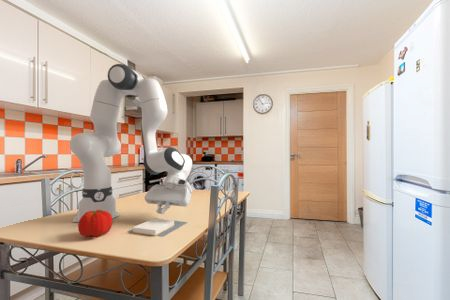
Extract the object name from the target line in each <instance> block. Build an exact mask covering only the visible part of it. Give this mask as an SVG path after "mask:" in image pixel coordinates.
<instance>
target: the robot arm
mask: <svg viewBox="0 0 450 300" xmlns="http://www.w3.org/2000/svg"><path fill="white" fill-rule="evenodd" d="M164 94H165V93H164V91H163V89H162V86H161V84H160V82H159V81H158V80H157V79H156V78H153V77H147V78H145V77H144V76H143V75H141V74H140V73H139V72H138V71H136V70H134V69H132V68H131V67H130V66H128V65H126V64H123V63H115V64H113V65H111V67H109V69H108V71H107V79H103V80H101V81H100V82H99V84H98V86H97V88H96V91H95V94H94V97H93V101H92V105H91V110H90V115H89V119H90V120H91V122H92V123H93V127H94V132H82V133H81V132H80V133H76V134H74V135H73V136H72V137H71V139H70V141H69V148H70V151H71V153H72V154H73V155H75V156H76V157H77V159H78V161H79V163H80V165H81V168H82V174H83V188H82V191H81V194H82V195H81V197H82V198H81V199H80V201H79V202H78V203H77V205H76V210H77V212H76V215H75V216H74V218H73V219H72V223H79V220H80V219H81V217H82V216H83V215H84V214H85V213H86V212H88V211H96V210H102V211H107V212H109V213H110V214H111V216H112V219H114V218H116V217H119V216H121V213H120V212H118V211H117V205H116V203H117V201H116V198H115V197H113V187H112V170H111V168H110V167H109V166H108V165H107V163H106V160H105V158H110V157H113V156H115V155H118V154H119V153H120V152H121V148H122V144H121V140H120V139H119V137H118V129H117V128H118V127H117V125H118V119H119V113H120V108H121V104H122V100H123V98H124V97H126V98H135V97H136V98H137V97H138V101H139V103H140V108H141V122H140V123H141V124H140V131H141V139H142V147H143V167H144V169H145V171H147V172H148V173H149V174H150V175H155V176H156V175H159V174H160V173H163V172H167V175H166V177H165V179H164V181H163V182H162V184H157V183H156V184H155V185H152V186H151V187H150V189H149V190H148V191H147V192H146V194H145V195H144V201H145V202H146V203H147V204H153V205H157V208H156V211H155V212H156V213H157V214H162V215H164V214H165V212H166V211H167V210H168V209H170V208H171V206H174V207H188V205H190V201H191V200H192V193H193V188H192V186H191V184H190V183H189V181H188V180H187V179H188V177H189V175H190V174H191V171H192V168H193V160H192V158H191V156H189V155H188V154H185V153H181V152H180V151H179V150H178V149H177V148H175V147H173V146H170V147H166V148H163V149H161V150H158V144H157V138H156V132H157V130H158V128H159V127H160V126H161V124H162V123H163V122H164V121H165V120H166V118H167V116H168V112H169V111H168V106H167V101H166V97H165V95H164Z"/></svg>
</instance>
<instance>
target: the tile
mask: <svg viewBox="0 0 450 300" xmlns="http://www.w3.org/2000/svg"><path fill="white" fill-rule="evenodd" d="M174 221H175V220H173V221H171V219H164V220H162V218H161V219H160V218H152V219H149V220H147V221H144V222H142V223H140V224H137V225H135V226H132V229H133V233H132V234H140V235H147V236H154V237H157V236H156V235H158V234H160V233H162V232H164V231H166V230H167V229H169V228H171V227H173V226H174Z"/></svg>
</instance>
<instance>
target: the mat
mask: <svg viewBox="0 0 450 300" xmlns="http://www.w3.org/2000/svg"><path fill="white" fill-rule="evenodd" d="M161 219H162V218H161ZM162 220H165V219H164V218H163V219H162ZM170 220H171V219H170ZM171 221H174V226H173V227H171V228H169V229H167V230H166V231H164V232H162V233H160V234H158V235H156V236H155V237H160V238H163V237H166V236H167V235H168V234H170V233H172V232H174V231H175V230H178V229H180V227H182V226H184V225H186V224H187V223H189V222H188V221H181V220H180V221H179V220H171ZM126 232H127V233H132V234H134V233H133V228H132V229H129V230H128V231H126Z"/></svg>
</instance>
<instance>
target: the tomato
mask: <svg viewBox="0 0 450 300" xmlns="http://www.w3.org/2000/svg"><path fill="white" fill-rule="evenodd" d="M112 227H113V218H112V216H111V214H110V213H109V212H107V211H102V210H96V211H88V212H86V213H85V214H84V215H83V216H82V217H81V219H80V220H79V222H78V225H77V228H78V229H77V230H78V232H79V234H80V235H81V236H83V237H84V238H91V237H94V238H95V237H96V238H98V237H100V236H103V235H106V234H107V233H108V232H110V230H111V229H112Z"/></svg>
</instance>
